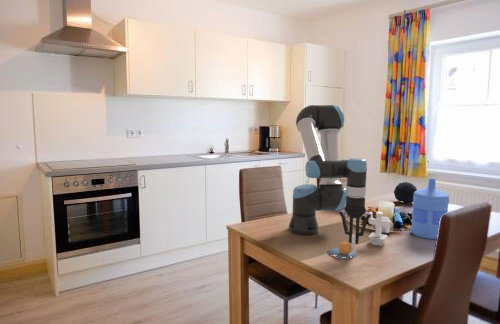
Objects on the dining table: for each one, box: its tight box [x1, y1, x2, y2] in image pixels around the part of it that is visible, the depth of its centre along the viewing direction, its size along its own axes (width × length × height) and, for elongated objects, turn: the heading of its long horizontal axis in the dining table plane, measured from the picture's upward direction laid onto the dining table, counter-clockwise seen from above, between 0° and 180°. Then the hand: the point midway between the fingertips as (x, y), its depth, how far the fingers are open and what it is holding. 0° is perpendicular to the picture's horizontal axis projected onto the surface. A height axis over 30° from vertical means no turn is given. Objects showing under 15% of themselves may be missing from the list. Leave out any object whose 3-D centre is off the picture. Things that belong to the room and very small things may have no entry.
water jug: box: [410, 178, 450, 240], centre depth 173 cm, size 16×16×28 cm
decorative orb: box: [393, 181, 417, 205], centre depth 236 cm, size 14×15×15 cm
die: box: [373, 216, 394, 234], centre depth 177 cm, size 8×9×10 cm
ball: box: [337, 241, 352, 255], centre depth 149 cm, size 6×6×6 cm
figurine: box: [367, 211, 391, 247], centre depth 161 cm, size 7×9×15 cm
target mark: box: [327, 247, 357, 260], centre depth 150 cm, size 12×12×1 cm
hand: (353, 250), depth 148 cm, fingers closed
